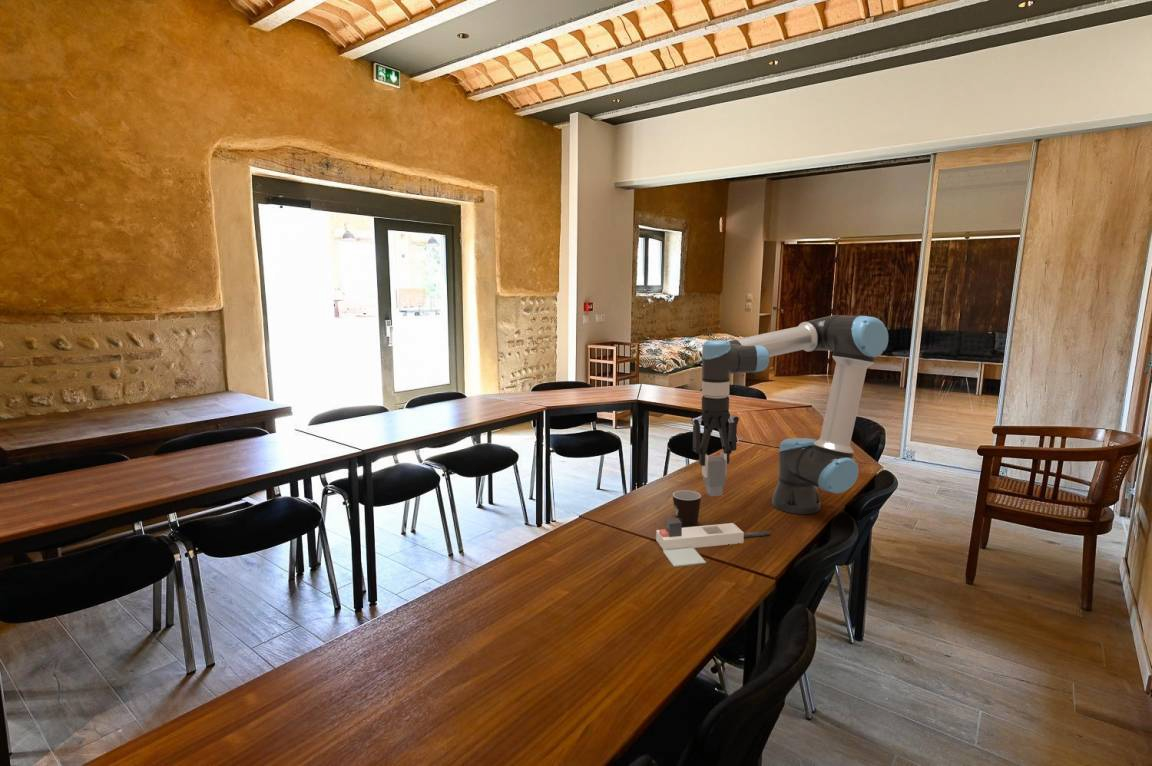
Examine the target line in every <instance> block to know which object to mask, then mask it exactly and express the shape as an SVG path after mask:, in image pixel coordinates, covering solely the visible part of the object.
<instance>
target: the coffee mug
mask: <svg viewBox="0 0 1152 766" xmlns="http://www.w3.org/2000/svg"><path fill="white" fill-rule="evenodd" d="M701 498H702V495H701V494H700V493H699V492H698V491H693V490H688V489H687V490H684V489H683V490H677V491H674V492H672V499H673V500H672V501H673V509H674V518H678V519H679V520H680V521H681V522H682V528H685V527H696V526H698V522H699V521H698V520H699V513H700V506H701Z"/></svg>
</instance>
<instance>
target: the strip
mask: <svg viewBox="0 0 1152 766" xmlns="http://www.w3.org/2000/svg"><path fill="white" fill-rule="evenodd" d="M664 525H665V528H663V529H656V530H655V531H656V534H655V540H656V543H658V545H659V547H661V549H662V551H664V550H674V549H684V548H694V549H697V548H698V549H699V548H707V547H717V546H725V545H726V546H727V545H728V544H729V545H737V544H738V543H739V544H744V543H745V542H744V540H745V539H744V538H753V537H762V536H770V535H771V531H770V530H763V531H755V532H754V531H753V532H744V531H742V529H740V527H738V526H737V525H736V524H735V523H734V522H730V523H720V524H719V523H718V524H706V525H699V526H698V525H697V526H696V527H685V528H682V522H681V521H680V520H679V519H678V518H675V517H672V518H671V517H670V518H665V524H664ZM739 544H738V545H739Z"/></svg>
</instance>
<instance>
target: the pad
mask: <svg viewBox="0 0 1152 766" xmlns="http://www.w3.org/2000/svg"><path fill="white" fill-rule="evenodd" d="M662 553H663V554H664V556H665V557H666V559H668V561H669V562H670V564H671V565H672V567H674V568H677V567H679V568H680V567H685V566H686V567H689V566H696V565H705V564H707V562H706V560H705V559H704V558H703V557H702V555H700V554H699V552H698V551H697V549H696V548H684V549H674V550H662Z"/></svg>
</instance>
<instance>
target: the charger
mask: <svg viewBox="0 0 1152 766" xmlns="http://www.w3.org/2000/svg"><path fill="white" fill-rule="evenodd" d="M726 477H727V469H726V460H725V459H723V458H722V457H720V455H710V456H709V455H708V478H705V477H704V476H703V475H702V483H704V484H705V493H706V494H707V495H708V496H710V497H715V496H716V497H718V496H719V497H720V496H723V494H724V492H723V490H724V489H723V488H724V487H726V486H727V485H726Z"/></svg>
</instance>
